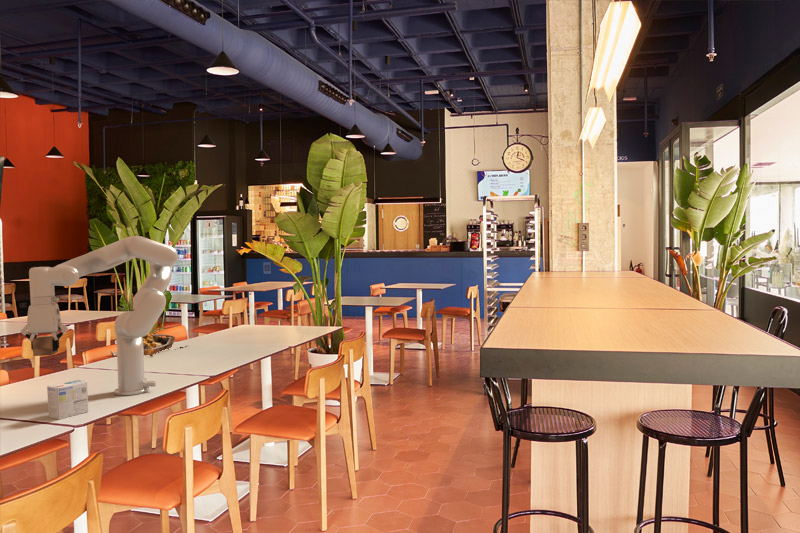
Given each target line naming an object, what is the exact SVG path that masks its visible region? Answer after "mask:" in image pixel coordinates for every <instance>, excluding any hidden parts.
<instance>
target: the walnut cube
mask: <svg viewBox="0 0 800 533" xmlns="http://www.w3.org/2000/svg"><path fill="white" fill-rule="evenodd" d="M53 340H54V338H53V336H52V335H45V336H37V338H35V339H32V343H33V350H32V355H33V357H39V356H40V357H41V356H43V357H44V356H52V355H55V354H57V353H59V349H58V350H57V351H53Z"/></svg>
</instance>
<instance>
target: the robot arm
mask: <svg viewBox="0 0 800 533" xmlns="http://www.w3.org/2000/svg"><path fill="white" fill-rule="evenodd" d="M136 258H137V259H140V260H143V261H146V262H148V264H149V268H150V269H149V273H148V275H147V277H146V279H145V280H144V282H143V283H142V285H141V286H140V287H139V289H138V291H137V292H136V293H135V294H134V296H133V299H132V305H133V307H134V310H133V311H124V312H122V313H120V314H118V316H117V317H116V319H115V320H114V333H115V339H116V352H117V355H116V360H117V365H116V366H117V388H116V389H114V390H113V393H114V395H117V396H134V395H140V394H144V393H146V392H148V391H149V390H150V387H151V388H153V387H157V382H156V381H154V380H152V381H151V380H150V381H148V380H147V377H145V357H144V347H143V339H142V337H144V336H145V335H147V334H150V333H149V332H151V331H152V329H153V328H154V327H155V324H156V323H157V321H158V320H159V319H160V317H161V316H162V314H163V312H164V311H165V308H166V305H167V298H166V296H165V294H164V293H165V292H166V290H167V288H168V286H169V285H170V283H171V280H172V272H173V271H172V266H175V264H176V263H177V262H178V259H179V255H178V252H177V250H176V249H175V248H174V247H172V246H171V245H168V244H165V243H161V242H159V241H156V240H153V239H149V238H148V237H145V236H141V235H131V236H127V237H124V238H122V239H119V240H117V241H115V242H112V243H110V244H106V245H104V246H102V247H100V248H97V249H95V250H93V251H89V252H88V253H85V254H83V255H80V256H77V257H74V258H71V259H70V260H66V261H65V262H62V263H60V264H57V265H55V266H53V267H51V266H38V267H37V266H34V267H31V268H29V271H28V276H29V279H28V280H29V294H30V305H29V306H28V309H27V310H28V311H27V317H26V318H27V319H26V324H25V326H24V327H23V328H22V329H21V330H20V331H19V332H20V333H21V334H22V335H23V336H24V337H25V338H26V339H28V340H29V342H30V345H31V346H30V347H31V351H33V343H32V339H35V338H37V337H38V335H39V334H51V336H53V338H54V340H53V351H57V350H58V351H59V349H60V339H61V338H62V336H64V335H65V333H66V332H67V331H68V330H69V327H67V326H66V325H65V324H64V323H63V322H62V317H61V311H60V308H59V307H60V306H59V304H57V302H59V301H60V297H56V293H55V286H58V287H59V286H60V287H61V286H62V287H71V286H73V285H75V284H77V282H78V281H79V279H80V278H81V277H84V276H87V275H89V274H93V273H99V272H105V271H107V270H108V271H109V270H111V269H113V268H115V267H117V266H118V265H122V264H123V263H126V262H129V261H131V260H133V259H136Z"/></svg>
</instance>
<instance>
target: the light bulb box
mask: <svg viewBox="0 0 800 533" xmlns="http://www.w3.org/2000/svg"><path fill="white" fill-rule="evenodd" d="M46 389H47V392H46V393H47V408H48V409H47V410H48V417H49V418H50V419H54V420H55V419H56V420H62V419H66V418H69V417H70V418H71V417H73V416H77V415H82V414H84V413H88V412H89V395H88V393H89V392H88V381H85V380H79V379H74V380H71V381H67V382H61V383H56V384H51V385H47V386H46Z"/></svg>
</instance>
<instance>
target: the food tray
mask: <svg viewBox="0 0 800 533" xmlns="http://www.w3.org/2000/svg"><path fill="white" fill-rule="evenodd" d="M142 339H143V347H144V355H149V357H150V358H151V357H152V358H153V356H154V355H157V354H160V352H159V351H162V350H165V349H168V350H170V349H169V348H171V347H172V345H174V341H175V340H176V337H175V336H174V335H169V334H160V333H159V334H157V333H155V334H154V333H148V334H147V335H145V336H144V337H142ZM157 352H158V353H157ZM162 352H163V351H162ZM154 353H155V354H154ZM110 354H111V355H112V356H115V357H116V356H117V351H115V352H114V351H113V350H110Z"/></svg>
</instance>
